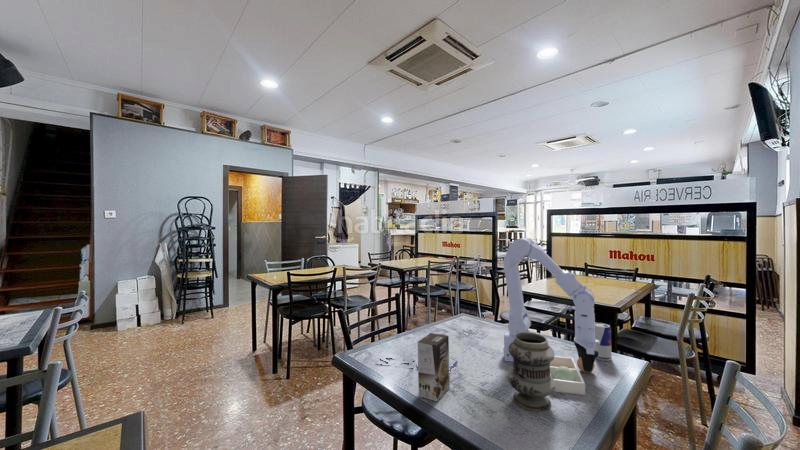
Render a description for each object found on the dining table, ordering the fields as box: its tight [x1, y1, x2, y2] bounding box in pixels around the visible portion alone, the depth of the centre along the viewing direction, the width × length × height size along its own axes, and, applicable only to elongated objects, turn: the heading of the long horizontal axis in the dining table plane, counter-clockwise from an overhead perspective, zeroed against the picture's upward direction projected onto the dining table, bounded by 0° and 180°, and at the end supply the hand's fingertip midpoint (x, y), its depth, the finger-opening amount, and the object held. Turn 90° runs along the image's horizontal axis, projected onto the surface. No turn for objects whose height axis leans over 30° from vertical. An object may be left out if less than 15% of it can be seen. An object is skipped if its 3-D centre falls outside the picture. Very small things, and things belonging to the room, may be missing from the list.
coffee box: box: [417, 332, 451, 402], centre depth 94 cm, size 9×6×16 cm
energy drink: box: [594, 322, 612, 362], centre depth 113 cm, size 5×5×12 cm
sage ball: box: [555, 366, 574, 381], centre depth 95 cm, size 5×5×5 cm
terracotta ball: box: [576, 356, 596, 374], centre depth 103 cm, size 5×5×5 cm
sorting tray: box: [550, 355, 586, 397], centre depth 99 cm, size 9×18×3 cm, turn 161°
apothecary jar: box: [508, 331, 556, 412], centre depth 88 cm, size 12×12×18 cm
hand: (585, 367), depth 103 cm, fingers closed on terracotta ball, 5 cm apart
